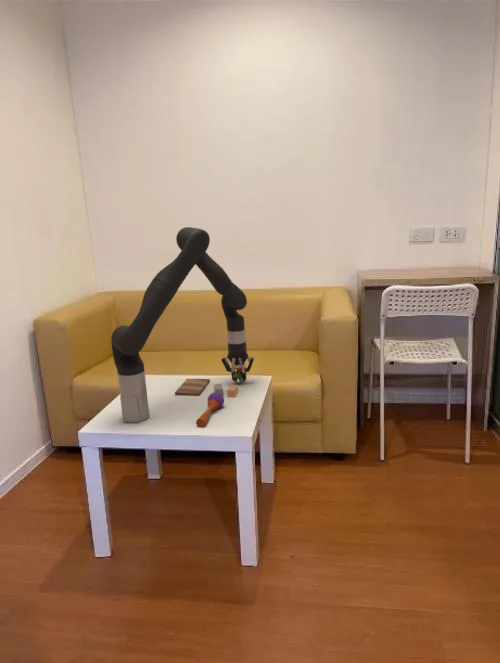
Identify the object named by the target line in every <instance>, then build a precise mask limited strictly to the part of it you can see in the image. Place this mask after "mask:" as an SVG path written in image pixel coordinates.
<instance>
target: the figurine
mask: <svg viewBox="0 0 500 663" xmlns="http://www.w3.org/2000/svg"><path fill="white" fill-rule="evenodd" d="M234 373H235V374H234V375H233V377H232V376H231V379H232V378H234V377H235V379H236V381H235V384H236V385H238V384H239V385H243V382H242V369H241V367H240V365H236V367H235V372H234ZM238 380H239V382H238Z"/></svg>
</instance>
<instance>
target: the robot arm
mask: <svg viewBox="0 0 500 663" xmlns="http://www.w3.org/2000/svg"><path fill="white" fill-rule="evenodd" d="M175 238H176V240H175V241H176V244H177V247H178V248H179V249H180V253H179V254H178V255H177V256H176V257H175V258H174V260H172V261H171V262H170V263H169V264H167V265H166V266H164V268H162V269H161V270H159V271H158V272H157V273H156V275H155V276H154V277H153V279H152V280H151V281H150V283H149V285H147V286H148V287H147V288H146V290H145V292H144V294H143V297H142V302H141V306H140V308H139V311H138V313H137V315H136V316H135V317H134V319H133V321H132V322H131V323H130V325H124V324H123V325H119V326H118V327H116V328H115V329H114V330H113V332H112V335H111V338H110V340H111V341H110V344H111V350H112V351H111V352H112V355H113V356H112V358H113V362H114V365H115V366H114V367H115V368H116V372H117V378H118V380H117V381H118V388H119V396H120V406H121V416H122V422H123V423H138V424H139V423H141V422H143V421H145V420H147V419H148V418H149V417H150V409H149V408H150V407H149V399H148V397H149V396H148V389H147V381H146V380H147V379H146V371H145V364H144V361H143V360H142V358H141V356H140V352H141V351H142V349H143V348H144V346H146V345H145V344H146V343H147V341H148V339H149V337H150V335H151V333H152V331H153V329H154V328H155V325H156V324H157V323H158V321H159V319H160V318H161V317H162V315H163V314H164V312H165V311H166V308H167V307H168V306H169V304H170V303H171V302H172V301H173V300H172V299H173V298H174V297H175V295H176V294H177V292H178V291H179V288H180V287H181V286H182V284H183V283H184V282H185V280H186V278H187V276H188V275H189V274H190V272H191V270H193V268H194V267H195V266H196V267H197V268H198V269H199V270H200V271H201V272H202V274H203V275H204V276H205V277H206V279H207V280H208V281H209V283H210V284H211V286H212V287H213V289H215V291H216V293H217V294H219V295H221V299H220V301H221V302H220V304H221V308H222V311H223V315H224V317H225V320H226V328H227V329H226V330H227V332H226V340H227V355H226V356H223V357H222V358H221V362H222V364H223V367H224V368H225V370H226V372H229V373H230V374H231V380H232V381H233V382H234V383H236V379H235V377H234V378H232V377H233V375H234V374H235V373H234V372H236V369H235V368H236V365H239V366H240V367H241V369H242V380H241V383H244V382H245V381H246V379H247V373H249V372H250V370H252V369H251V368H252V366H253V363H254V361H255V357H254V356H249V354H248V351H247V336H246V329H245V318H244V316H243V315H242V314H240V313H239V312H238V311H242V310H243V309H245V308H246V306H247V304H248V299H247V296H246V294H245V292H244V291H243V290H241V288H239V286H237V285H236V284H235V283H234V282H233V281H232V279H231V278H230V277H229V275H228V274H227V272H226V271H225V270H224V268H222V266H221V265H220V264H219V263H218V262H216V261H215V260H214V259H213V258H212V257H211V256H210V255H209V254H208V253H207V250H208V249H209V247H210V241H211V238H210V235H209V233H208V231H207V230H204V229H203V228H199V227H198V228H197V227H192V226H191V227H188V226H187V227H182V228H181V229H180V230H178V232H177V234H176V237H175ZM246 361H248V365H247V367H246V363H245V362H246ZM229 362H230V364H231V366H230V364H229Z"/></svg>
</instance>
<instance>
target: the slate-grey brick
mask: <svg viewBox="0 0 500 663" xmlns="http://www.w3.org/2000/svg"><path fill="white" fill-rule="evenodd" d="M222 385H223V384H222V383H216V384H213V390H214V391H213V393H214V392H218V393H221V394H222V395H223V396H224V388H223V386H222Z"/></svg>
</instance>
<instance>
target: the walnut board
mask: <svg viewBox="0 0 500 663" xmlns="http://www.w3.org/2000/svg"><path fill="white" fill-rule="evenodd" d="M210 382H211V378H186V379H185V380H184V381H183V382H182V384H181V385H180V386H179V387H178V388H177V389H176V391H175V392H174V395H175V396H196V397H198V396H201V394H202V393H203V392H204V391H205V389H206V387H207V386H209V384H210Z"/></svg>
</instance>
